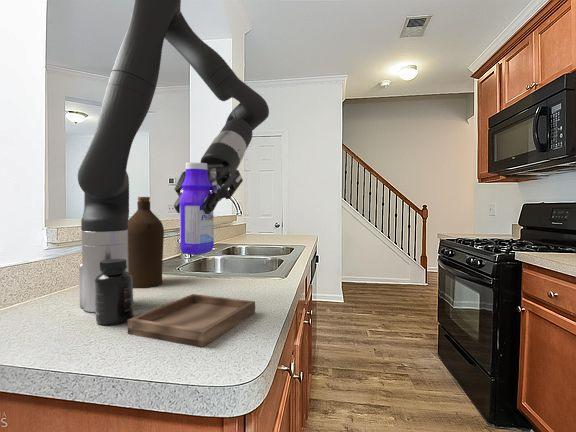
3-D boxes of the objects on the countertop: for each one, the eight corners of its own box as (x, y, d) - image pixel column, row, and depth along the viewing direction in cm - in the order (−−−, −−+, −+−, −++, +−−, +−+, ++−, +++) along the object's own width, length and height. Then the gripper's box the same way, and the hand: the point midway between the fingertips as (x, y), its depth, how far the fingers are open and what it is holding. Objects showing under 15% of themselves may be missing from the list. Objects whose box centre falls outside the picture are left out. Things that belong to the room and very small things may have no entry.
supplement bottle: (123, 312, 74) (123, 256, 74) (139, 319, 70) (139, 260, 70) (89, 320, 69) (88, 260, 69) (104, 328, 65) (103, 264, 64)
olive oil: (172, 282, 103) (171, 197, 102) (145, 290, 93) (144, 196, 92) (144, 278, 107) (143, 197, 106) (115, 286, 97) (114, 196, 96)
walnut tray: (127, 333, 63) (127, 319, 62) (192, 304, 80) (192, 293, 80) (203, 347, 57) (202, 332, 57) (255, 313, 75) (255, 301, 74)
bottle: (202, 256, 64) (202, 160, 63) (174, 254, 65) (173, 161, 65) (218, 250, 71) (218, 165, 71) (192, 249, 72) (192, 165, 72)
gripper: (189, 143, 77) (151, 196, 66) (248, 139, 72) (216, 196, 61) (203, 169, 82) (170, 222, 71) (259, 168, 77) (231, 225, 66)
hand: (191, 210), depth 66 cm, fingers closed on bottle, 5 cm apart
